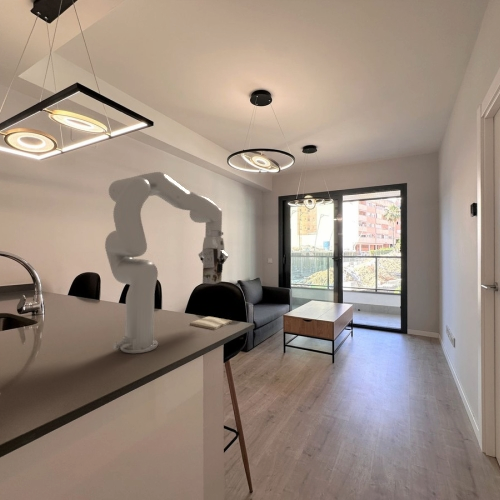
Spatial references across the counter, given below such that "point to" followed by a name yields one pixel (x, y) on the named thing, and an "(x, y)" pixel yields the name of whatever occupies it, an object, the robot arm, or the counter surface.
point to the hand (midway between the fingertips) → (212, 271)
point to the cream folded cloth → (211, 322)
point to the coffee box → (210, 267)
